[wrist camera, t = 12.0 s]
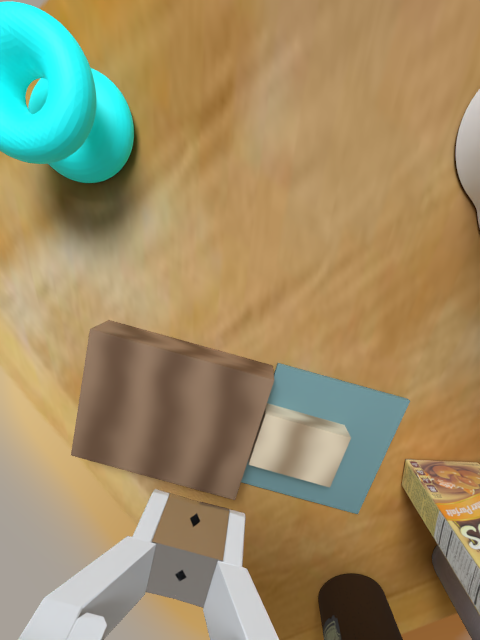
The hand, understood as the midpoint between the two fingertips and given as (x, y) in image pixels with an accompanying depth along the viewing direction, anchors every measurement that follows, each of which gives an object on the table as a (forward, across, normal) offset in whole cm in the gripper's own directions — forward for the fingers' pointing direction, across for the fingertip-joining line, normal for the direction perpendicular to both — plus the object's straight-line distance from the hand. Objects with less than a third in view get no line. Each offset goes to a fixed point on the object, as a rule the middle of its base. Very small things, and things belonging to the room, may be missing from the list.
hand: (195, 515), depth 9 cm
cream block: (+25, -10, +13) cm, 29 cm away
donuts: (+25, +20, -15) cm, 36 cm away
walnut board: (+25, +6, +12) cm, 28 cm away
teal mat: (+25, -13, +13) cm, 31 cm away
